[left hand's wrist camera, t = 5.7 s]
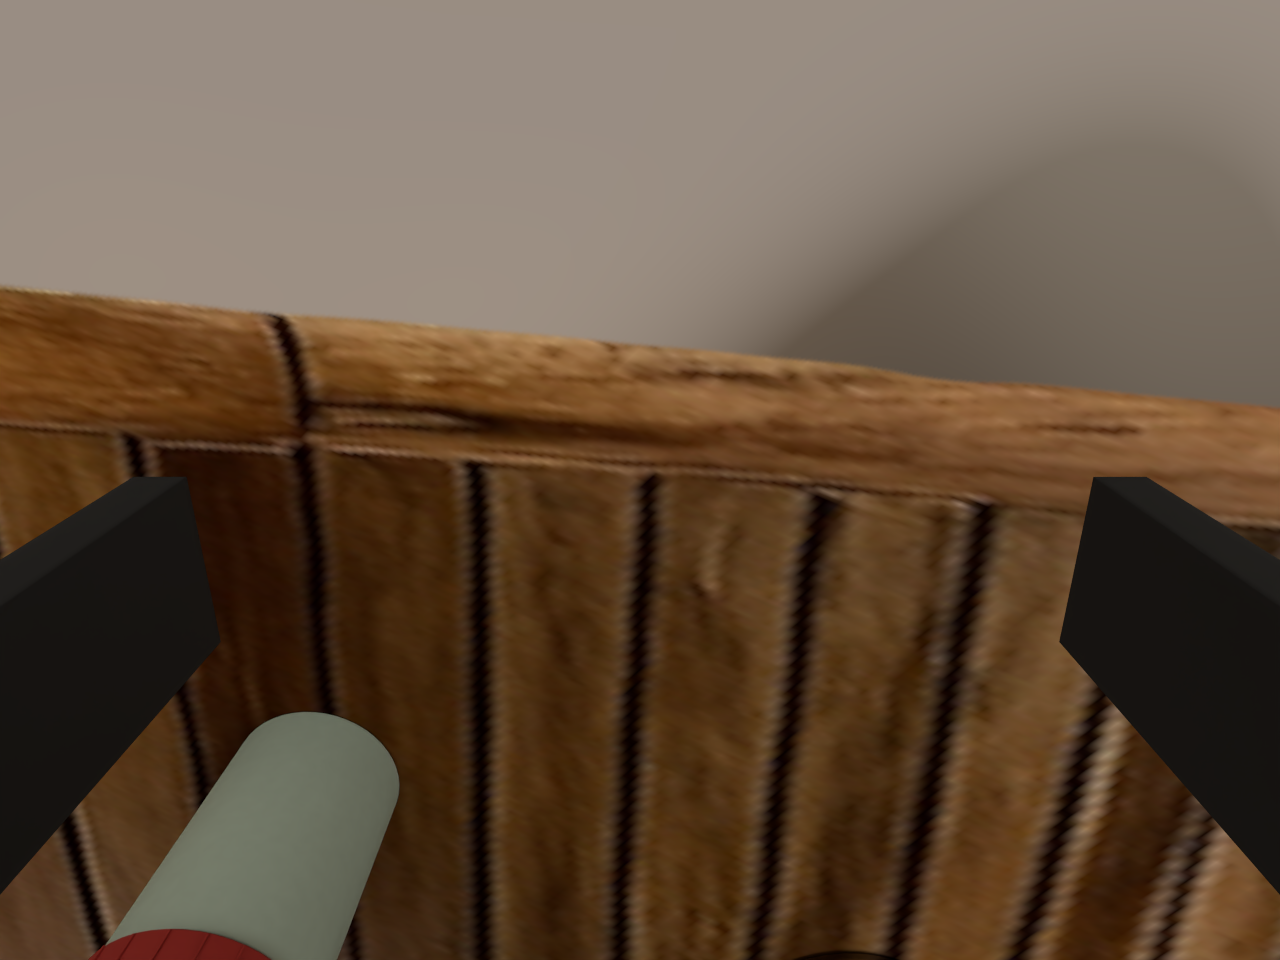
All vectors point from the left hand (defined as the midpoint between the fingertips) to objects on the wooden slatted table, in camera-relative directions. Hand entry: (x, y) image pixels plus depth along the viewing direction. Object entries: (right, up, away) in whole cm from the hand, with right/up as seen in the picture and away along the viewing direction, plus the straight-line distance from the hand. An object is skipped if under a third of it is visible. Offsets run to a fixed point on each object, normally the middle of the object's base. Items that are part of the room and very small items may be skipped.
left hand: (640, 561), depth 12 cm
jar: (-19, -16, +36) cm, 44 cm away
